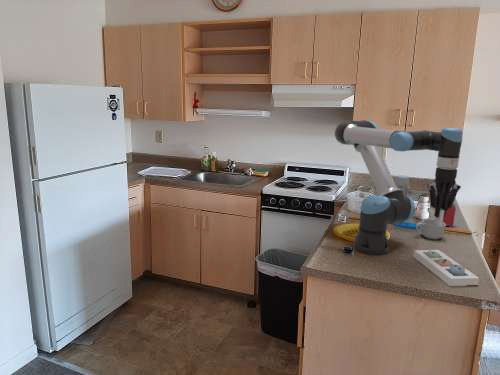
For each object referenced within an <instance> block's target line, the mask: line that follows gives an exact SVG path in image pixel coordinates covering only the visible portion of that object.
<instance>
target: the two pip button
mask: <svg viewBox="0 0 500 375" xmlns="http://www.w3.org/2000/svg"><path fill="white" fill-rule="evenodd" d="M460 265H461V264H460ZM460 265H450V270H449V273H451V274H452V275H453V276H464V273H465V269H466V267H465V266H462V265H461V266H460Z"/></svg>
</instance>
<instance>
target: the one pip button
mask: <svg viewBox="0 0 500 375" xmlns="http://www.w3.org/2000/svg"><path fill="white" fill-rule="evenodd" d="M426 255H427V256H428V257H429V258H439V257H440V254H439V253H438V252H435V251H427V254H426Z"/></svg>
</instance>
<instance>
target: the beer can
mask: <svg viewBox="0 0 500 375" xmlns="http://www.w3.org/2000/svg"><path fill="white" fill-rule="evenodd" d="M455 216H456V204H455V203H453V205H452V207H451V208H449V209H448V210H447V211H446V214H445V217H443V222H444V223H445V224H446V226H452V227H453V226H454V224H455V223H454V222H455V218H456V217H455Z"/></svg>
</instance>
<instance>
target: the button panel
mask: <svg viewBox="0 0 500 375" xmlns="http://www.w3.org/2000/svg"><path fill="white" fill-rule="evenodd" d="M427 251H435V252H438V253H439V254H440V257H439V258H429V257H428V256H427V255H426V254H427ZM413 258H414V259H415V260H417V261H418V262H419V263H420V264H422V265H423V266H424V267H425V268H427V269H428V270H429V271H430V272H431V273H433V274H434V275H435V276H436V277H438V279H440V280H441V281H442V282H444V283H445V284H446V285H448V286H449V287H468V286H467V285H478V286H479V282H480V281H479V280H480V277H478V276H477V275H476V274H474V273H473V272H472V271H469V270H468V269H467V268H465V273H464V276H453V275H452V274H451V273H449V270H450V266H448V267H441V266H440V265H439V264H437V261H438V259H447V260H449V261H451V262H452V264H451V265H460V266H462V265H461V264H460V263H459V262H456V261H455V260H454V259H453V258H450V256H448V255H447V254H445V253H444V252H442V251H440V250H439V249H432V250H431V249H428V250H427V249H425V250H424V249H423V250H422V249H421V250H420V249H419V250H417V249H416V250H413Z"/></svg>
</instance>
